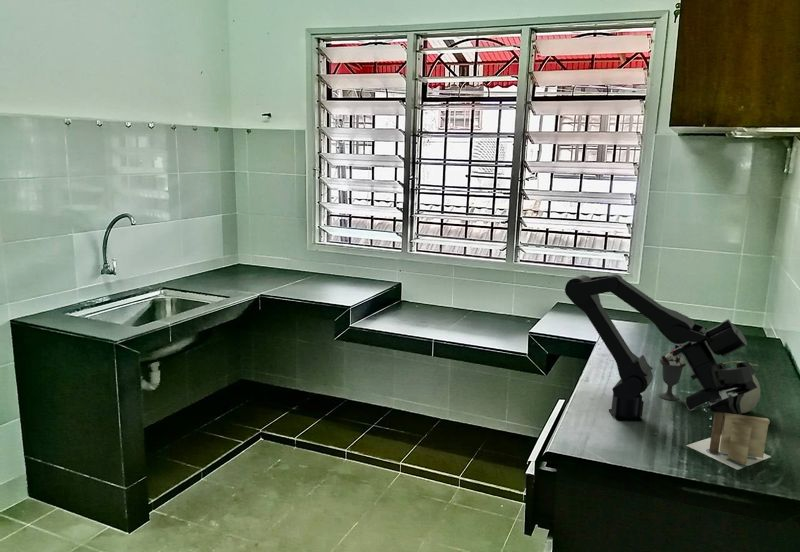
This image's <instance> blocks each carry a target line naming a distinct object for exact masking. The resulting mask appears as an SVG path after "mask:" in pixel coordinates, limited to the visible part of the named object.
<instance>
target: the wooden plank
mask: <svg viewBox="0 0 800 552" xmlns="http://www.w3.org/2000/svg"><path fill="white" fill-rule="evenodd" d="M713 413H714V412H713ZM723 416H724V414H723V413H721V412H715V413H714V415H713V419H712V420H713V421H712V429H711V437H710V438H711V442H710V449H709V452H711V453H713V454H718V451H719V444H720V437H721V435H722V428H723V421H724V419H723ZM732 423H733V424H732V431H731V438H730V445H729V452H728V458H730V459H732V460H734V461H737V462H739V463H741V464H743V465H744V464H746V462H747V456H748V449H749V442H750V436H751V429H752V428H753V425H750V424H748V423H745V422H743V421H740V420H738V419H734V420H732Z"/></svg>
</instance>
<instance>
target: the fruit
mask: <svg viewBox="0 0 800 552" xmlns="http://www.w3.org/2000/svg"><path fill="white" fill-rule="evenodd" d="M740 362H743V361H742V360H741V361H740V360H735V361H734V360H732V361H727V362H722V363H723V364H725V365H727V364H728V365H729V364H735V366H737V363H740ZM749 364H750V365H751V366H752V367H753V366H754V367H759V364H754V363H750V362H749ZM752 377H753V381H754V383H755V384H756V386H757V388H756V389H754V390H751V391H749V392H747V393H745V394H744V396H743V397H742V399H741V401H740V409H741V414H746V413H748V412H750V411H752V410H753V409H754V408H756V406H757V405H758V402H759V400H760V398H761V386H760V382H759V380H758V378H756V377H755V375H754V374H753V375H752Z"/></svg>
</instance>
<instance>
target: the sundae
mask: <svg viewBox="0 0 800 552" xmlns="http://www.w3.org/2000/svg"><path fill="white" fill-rule="evenodd" d="M679 345H680V346H682V345H683V344H679ZM673 351H674V349H672V350H671V351H670V352H668V353H667V354H665V355H661V356H660V357H661V359H659V362H660V365H661V367H662V368H661V369H662V380H663V382H664V383H665V384H666V385H667V389H666V392H662V393H659V395H658V396H659V397H660V398H661V399H663V400H666V401H670V402H671V401H672V402H675V401H679V399H680V398H679V397H678V396H677V395H676V394H673V386H676V385H677V384H679V381H680V379H681V376H682V373H683V369H684V367H686V366H687V362H686V363H685V361H684V360H685V359H684V357H682V355H681V356H673V355H672V354H673Z"/></svg>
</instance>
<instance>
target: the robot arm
mask: <svg viewBox="0 0 800 552" xmlns="http://www.w3.org/2000/svg"><path fill="white" fill-rule="evenodd" d="M564 293H565V295H566V296H567V298H568V299H569V301H571V303H573V305H575V306H576V307H577V308H578V309H579V310H580V311H582V312H583V313H584V314H585V315H586V316H587V318H588V320H589V322H590V323H591V325H592V326H593V328H594V329H595V331H596V332H597V334H598V336H599V338H600V339H601V340H602V342H603V343H604V346H605V347H606V349H607V350H608V351H609V353H610V354H611V356H612V358H613V359H614V361H615V363H616V366H617V371H618V375H619V378H620V379H619V380H618V381H617V383H616V384H615V385H614V386H613V387H612V399H611V400H612V401H611V408H609V409H608V412H609V413H610V415H611V416H612V417H613V418H614V420H615V421H616V422H638V423H639V422H640V423H641V422H642V423H643V418H642V417H643V414H644V413H643V411H644V403H645V402H644V401H643V395H642V393H644V392H645V391H646V390H647V389H648V387H649V385H651V383H652V380H653V371H652V370H653V367H652V366H651V365H649V363H648V361H647V359H646V357H645V355H644V354H641V355H640V356H639V357H638V356H637V355H636V354H635V353H633V351H632V350H631V349H630V347H629V346H628V344H627V343H626V341H625V339H624V338H623V336H622V335H621V333H620V332H619V330H618V328H616V325H615V324H614V322H613V320H612V318H611V317H610V316H609V314H608V313H607V311H606V310H605V308H604V307H603V304H602V303H601V298H600V294H605V293H611V294H613V295H614V296H616V297H617V298H619V299H620V300H621V301H623V302H624V303H626V304H627V305H629V306H630V307H631V308H633V309H634V310H635V311H637V312H638V313H640V314H641V315H643V316H644V317H645V318H647V319H648V320H650V321H651V322H652V323H653V324H654V326H655V327H656V329H658V331H659V332H660V333H661V334H662V335H663V336H664V337H665V338H666V339H667V340H668V341H670V343H673V344H674V349H673V350H674V351H673V354H672V355H673V356H681V357H682V356H683V359H684V360H685V361H686V364H688V367H689V368H690V370H691V372H692V373H693V374H692V375H690V377H691V379H692V380H693V381H696V380H697V382H698V384H699V385H700V386H701V388H702V389H700V390H698V391H697V392H695V393H693V394H691V395H689V396H686V398H685V401H684V404H685V405H686V408H687V409H688V411H693V410H697V409H698V408H699V407H700V406H702V405H704V404H707V403H708V402H709V403H708V404H709V405H708V406H707V407H705V409H706V410H707V411H708V410H710V411H711V412H712V413H715V412H721V413H723V414H724V413H729V414H737V415H743V413H741V409H740V401H741V399H742V397H743V396H744V394H745V393H747V392H749V391H751V390H754V389H756V388H757V386H756V384H755V383H754V381H753V377H752V375H754V374H755V372H756V370H755V369H754V368H753V365H750V364H749V363H750V362H749V360H748V361H742V362H740V363H737V365H736V367H729V368H728V367H727V366H726V364H723V363H724V362H721V363H719V362H718V361H717V359H716V358H715V356H714V355H716V356H721V357H725V356H727V355H729V354H731V353H734V352H736V351H738V350H740V349H742V348H744V347H746V346H748V342H747V339H746V338H745V335H744V334H743V332H742V331H741V330H740V328H737V326H736V325H735V324H734V323H732V322H731V320H730V319H729V318H728V319H726V320H723V321H722V322H721V323H719V324H717V325H715V326H714V327H711V328H709V327H707V326H703V325H700V324H699V323H696V322H694V320H693V319H692V318H691V317H689V316H687V315H685V314H683V313H681V312H679V311H676V310H674V309H671V308H667V307H666V306H663V305H662V304H660V303H658V302H657V301H656V300H654V299H653V298H651V297H650V296H649V295H647V294H646V293H644V292H643V291H642V290H640V289H639V288H637V287H635V286H634V285H633V284H632V283H630V282H628V281H627V280H625V279H624V278H623V277H622V276H621V275H620V274H617V273H613V274H611V275H600V276H599V275H598V276H591V277H590V276H588V275H585V274H582V275H577V276H576V277H573V278H571V279H569V280H568V281H567V282H566V284H565V287H564ZM680 345H682V346H680ZM723 420H724V416H723Z"/></svg>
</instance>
